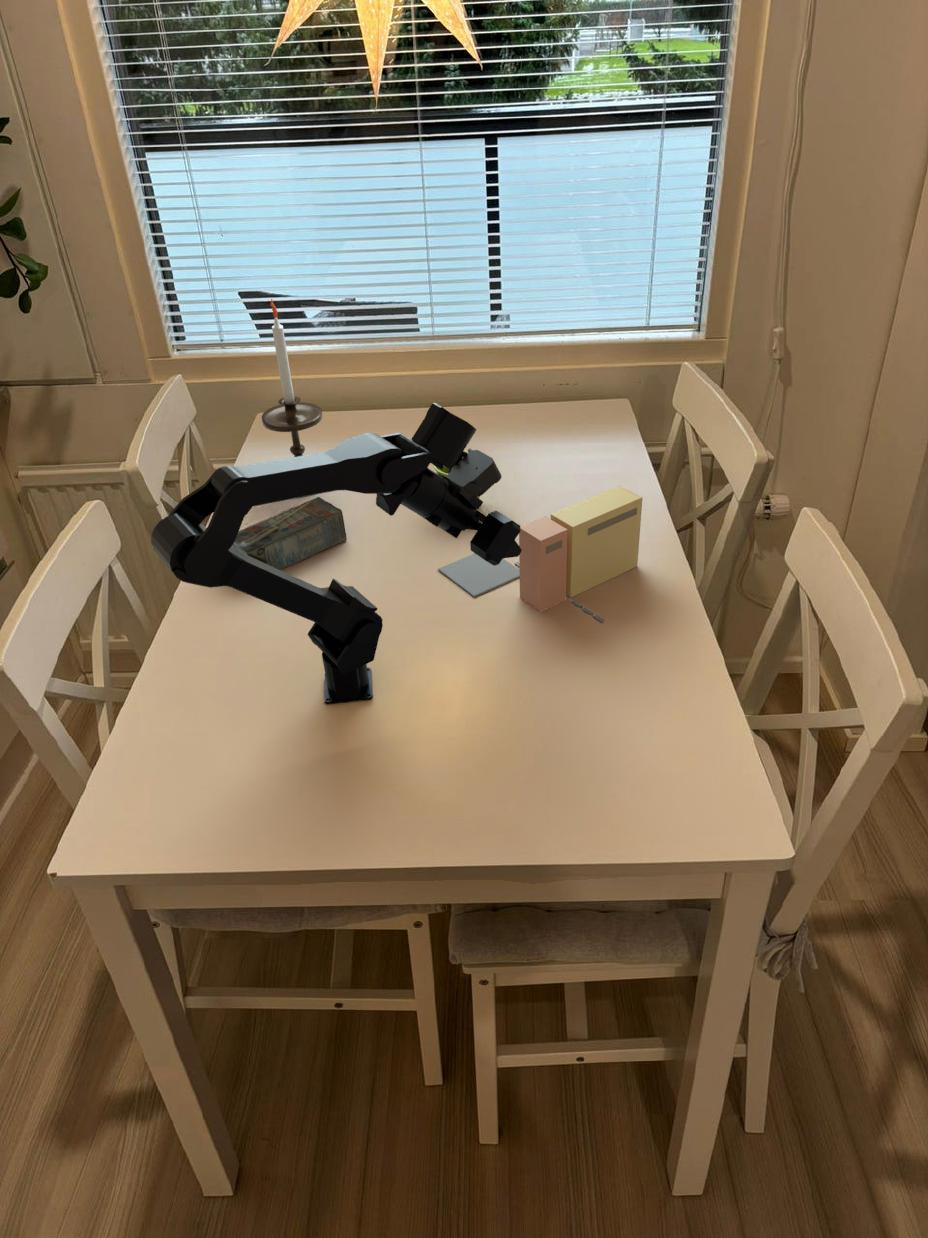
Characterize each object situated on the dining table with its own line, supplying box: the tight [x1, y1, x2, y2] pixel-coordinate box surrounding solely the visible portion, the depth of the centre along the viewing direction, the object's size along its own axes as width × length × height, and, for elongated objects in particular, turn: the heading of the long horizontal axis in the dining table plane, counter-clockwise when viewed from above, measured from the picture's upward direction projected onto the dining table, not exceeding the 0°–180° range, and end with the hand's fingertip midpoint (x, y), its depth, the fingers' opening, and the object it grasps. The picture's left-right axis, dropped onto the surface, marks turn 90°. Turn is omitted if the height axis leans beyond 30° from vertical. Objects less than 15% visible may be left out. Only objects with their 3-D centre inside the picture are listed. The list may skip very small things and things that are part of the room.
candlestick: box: [261, 298, 323, 457], centre depth 167 cm, size 11×11×35 cm
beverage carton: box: [231, 496, 347, 571], centre depth 155 cm, size 8×19×7 cm, turn 131°
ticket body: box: [550, 485, 643, 598], centre depth 144 cm, size 14×5×12 cm, turn 125°
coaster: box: [437, 552, 520, 598], centre depth 149 cm, size 10×10×1 cm
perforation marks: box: [514, 561, 605, 624], centre depth 144 cm, size 1×21×1 cm, turn 35°
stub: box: [518, 516, 567, 613], centre depth 139 cm, size 5×5×12 cm
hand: (499, 539), depth 131 cm, fingers open, 9 cm apart
